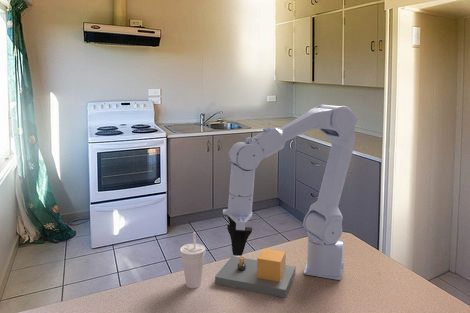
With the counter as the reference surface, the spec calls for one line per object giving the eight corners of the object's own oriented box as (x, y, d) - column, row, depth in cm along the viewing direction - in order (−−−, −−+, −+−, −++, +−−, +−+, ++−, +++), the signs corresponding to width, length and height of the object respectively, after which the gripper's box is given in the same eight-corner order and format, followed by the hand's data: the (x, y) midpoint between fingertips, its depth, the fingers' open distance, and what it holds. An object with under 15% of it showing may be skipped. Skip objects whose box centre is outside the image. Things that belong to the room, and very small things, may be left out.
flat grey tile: (295, 273, 98) (295, 255, 97) (285, 297, 87) (285, 277, 86) (231, 262, 104) (231, 245, 103) (215, 284, 93) (214, 264, 92)
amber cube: (285, 270, 95) (285, 251, 94) (280, 281, 90) (280, 262, 89) (263, 267, 97) (263, 248, 96) (257, 277, 92) (257, 258, 91)
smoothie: (202, 292, 89) (201, 238, 87) (177, 290, 90) (175, 236, 88) (209, 279, 95) (208, 228, 93) (185, 276, 97) (184, 226, 94)
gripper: (224, 185, 94) (220, 235, 96) (224, 201, 80) (220, 260, 82) (251, 186, 94) (247, 237, 97) (256, 203, 80) (251, 262, 82)
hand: (236, 248), depth 89 cm, fingers open, 7 cm apart
